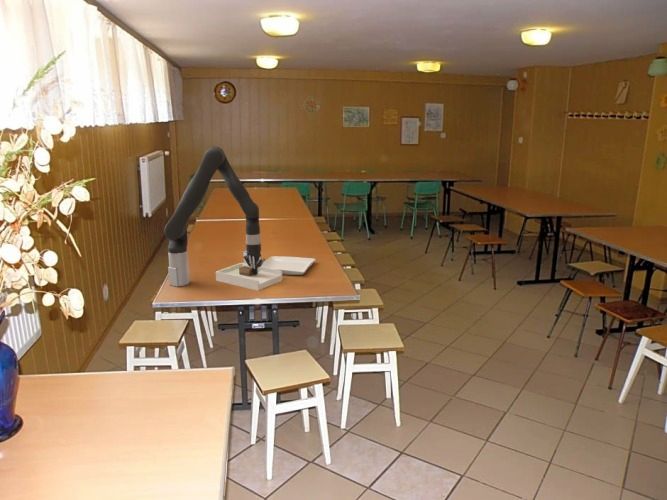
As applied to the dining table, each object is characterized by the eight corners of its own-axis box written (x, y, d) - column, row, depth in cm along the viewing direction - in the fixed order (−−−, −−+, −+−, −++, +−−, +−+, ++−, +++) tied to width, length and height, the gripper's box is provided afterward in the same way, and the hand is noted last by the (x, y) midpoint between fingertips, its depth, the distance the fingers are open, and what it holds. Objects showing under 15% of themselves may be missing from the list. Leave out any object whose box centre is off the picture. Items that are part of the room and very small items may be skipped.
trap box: (258, 290, 256) (257, 281, 255) (216, 280, 272) (215, 271, 271) (282, 280, 272) (282, 271, 271) (241, 271, 287) (241, 262, 286)
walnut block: (249, 276, 268) (248, 270, 267) (239, 274, 272) (239, 268, 271) (255, 274, 272) (254, 268, 271) (245, 272, 276) (245, 266, 275)
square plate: (304, 278, 276) (304, 271, 275) (255, 275, 282) (255, 268, 281) (316, 263, 302) (316, 257, 301) (271, 261, 307) (271, 255, 306)
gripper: (238, 242, 265) (240, 274, 269) (258, 245, 257) (259, 278, 262) (248, 239, 271) (250, 270, 275) (268, 242, 263) (269, 275, 268)
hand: (254, 274), depth 269 cm, fingers closed
